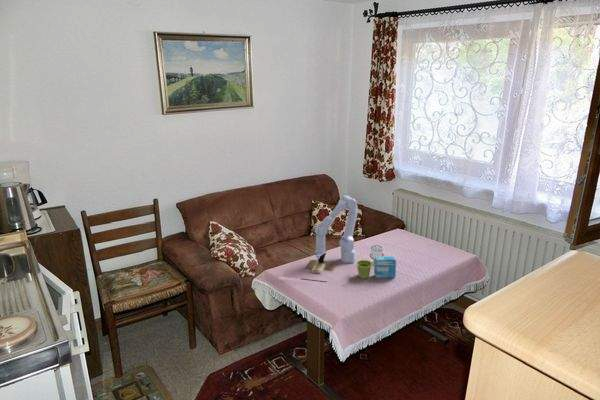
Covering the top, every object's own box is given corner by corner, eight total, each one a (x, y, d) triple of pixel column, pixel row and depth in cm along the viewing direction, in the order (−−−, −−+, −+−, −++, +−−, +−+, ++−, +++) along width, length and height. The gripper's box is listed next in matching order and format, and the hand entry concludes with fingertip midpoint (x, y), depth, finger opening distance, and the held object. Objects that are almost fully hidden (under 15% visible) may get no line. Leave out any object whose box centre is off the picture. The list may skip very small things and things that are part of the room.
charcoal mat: (331, 273, 255) (331, 272, 254) (326, 282, 244) (326, 281, 243) (306, 270, 259) (306, 269, 259) (300, 279, 248) (300, 278, 248)
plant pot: (370, 281, 243) (370, 267, 241) (354, 279, 247) (354, 265, 244) (373, 274, 252) (373, 261, 249) (357, 272, 255) (358, 259, 252)
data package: (375, 278, 246) (375, 260, 243) (374, 274, 251) (374, 256, 247) (395, 277, 246) (396, 259, 243) (393, 274, 250) (394, 256, 247)
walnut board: (337, 264, 266) (337, 262, 266) (332, 273, 254) (332, 271, 254) (310, 261, 271) (310, 259, 271) (304, 270, 260) (304, 268, 259)
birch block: (325, 266, 260) (325, 263, 260) (321, 273, 251) (321, 270, 251) (316, 265, 262) (316, 262, 262) (312, 272, 253) (311, 269, 252)
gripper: (317, 239, 266) (318, 259, 270) (311, 248, 253) (311, 268, 257) (328, 240, 264) (328, 260, 268) (322, 249, 251) (323, 270, 255)
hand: (321, 264), depth 262 cm, fingers closed
